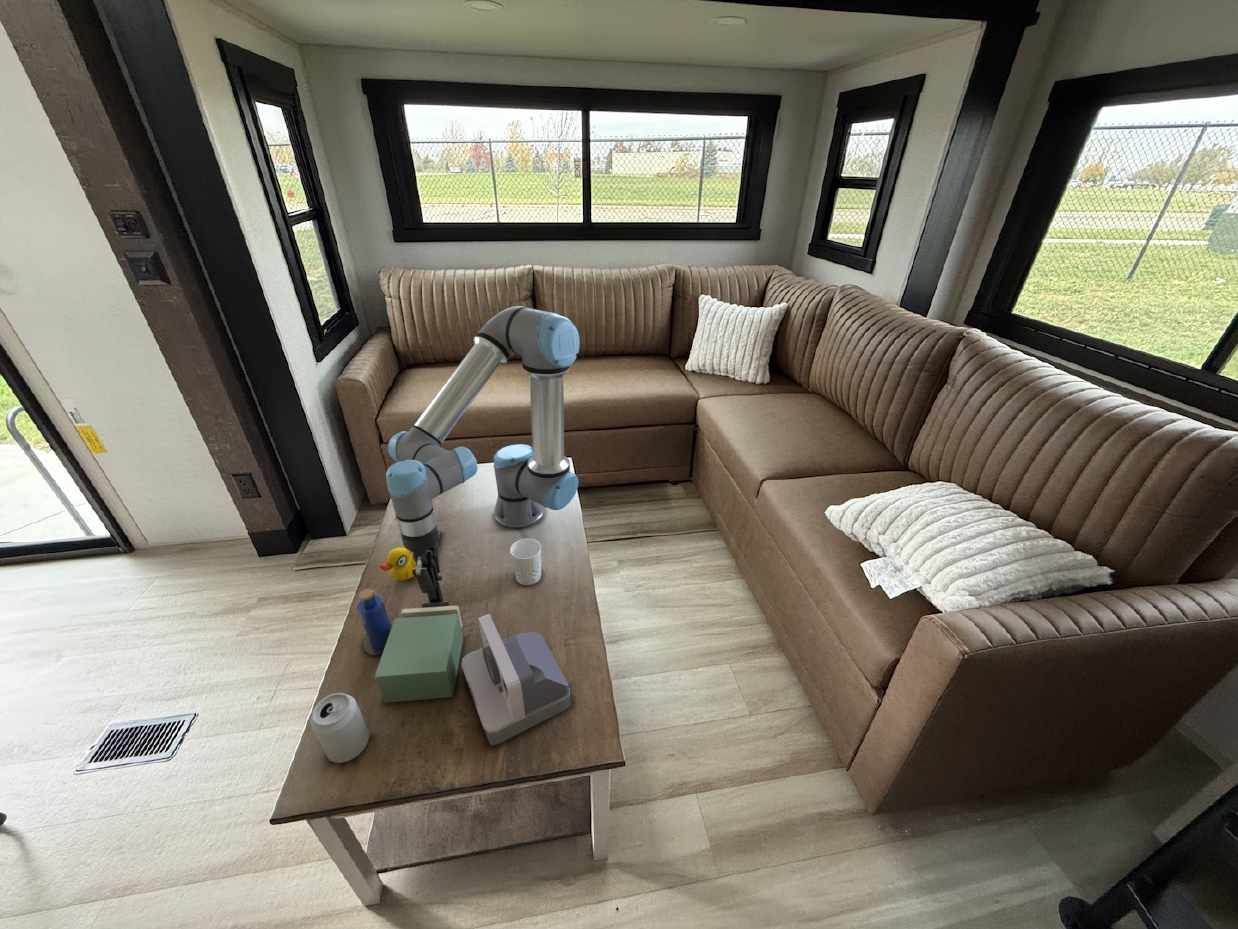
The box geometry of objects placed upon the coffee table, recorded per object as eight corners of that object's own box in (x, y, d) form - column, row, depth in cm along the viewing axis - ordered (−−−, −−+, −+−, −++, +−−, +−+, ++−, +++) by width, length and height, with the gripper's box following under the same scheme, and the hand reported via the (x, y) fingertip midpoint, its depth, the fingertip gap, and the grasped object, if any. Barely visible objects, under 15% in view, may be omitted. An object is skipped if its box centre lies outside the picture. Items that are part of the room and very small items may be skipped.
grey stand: (462, 662, 110) (451, 615, 103) (552, 636, 117) (549, 590, 109) (474, 753, 94) (462, 706, 86) (579, 717, 100) (577, 670, 92)
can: (336, 727, 97) (318, 690, 91) (376, 724, 98) (360, 687, 92) (320, 767, 91) (299, 730, 85) (362, 764, 92) (344, 726, 85)
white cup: (537, 589, 129) (535, 560, 124) (509, 584, 131) (505, 556, 125) (547, 568, 136) (545, 540, 131) (520, 564, 137) (516, 536, 132)
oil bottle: (397, 630, 117) (382, 583, 109) (391, 648, 113) (375, 601, 105) (374, 632, 116) (357, 585, 108) (367, 650, 112) (349, 603, 104)
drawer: (412, 615, 120) (406, 595, 117) (465, 611, 121) (460, 592, 118) (392, 680, 105) (385, 660, 102) (452, 675, 107) (447, 655, 103)
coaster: (370, 628, 118) (370, 627, 118) (405, 626, 119) (405, 625, 118) (359, 657, 111) (358, 656, 111) (396, 654, 112) (396, 653, 112)
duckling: (394, 594, 127) (384, 567, 121) (382, 584, 130) (372, 557, 124) (431, 568, 135) (424, 541, 129) (419, 559, 137) (411, 532, 132)
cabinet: (402, 644, 114) (394, 618, 110) (463, 639, 116) (457, 614, 111) (384, 703, 102) (374, 677, 97) (452, 697, 103) (445, 671, 99)
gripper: (408, 510, 113) (426, 585, 125) (392, 548, 102) (414, 626, 114) (442, 508, 113) (457, 583, 126) (429, 546, 102) (447, 624, 115)
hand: (436, 603), depth 120 cm, fingers closed
